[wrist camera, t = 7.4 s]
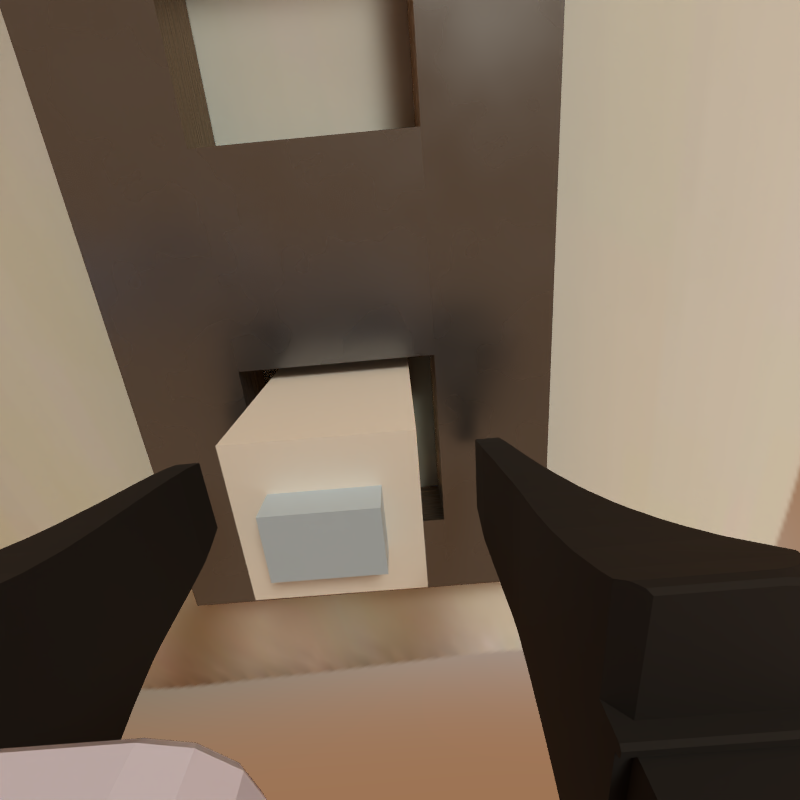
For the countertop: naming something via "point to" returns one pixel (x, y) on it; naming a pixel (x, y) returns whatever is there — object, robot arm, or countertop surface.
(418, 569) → the plug
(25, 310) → the countertop surface
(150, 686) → the countertop surface
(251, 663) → the countertop surface
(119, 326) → the panel
